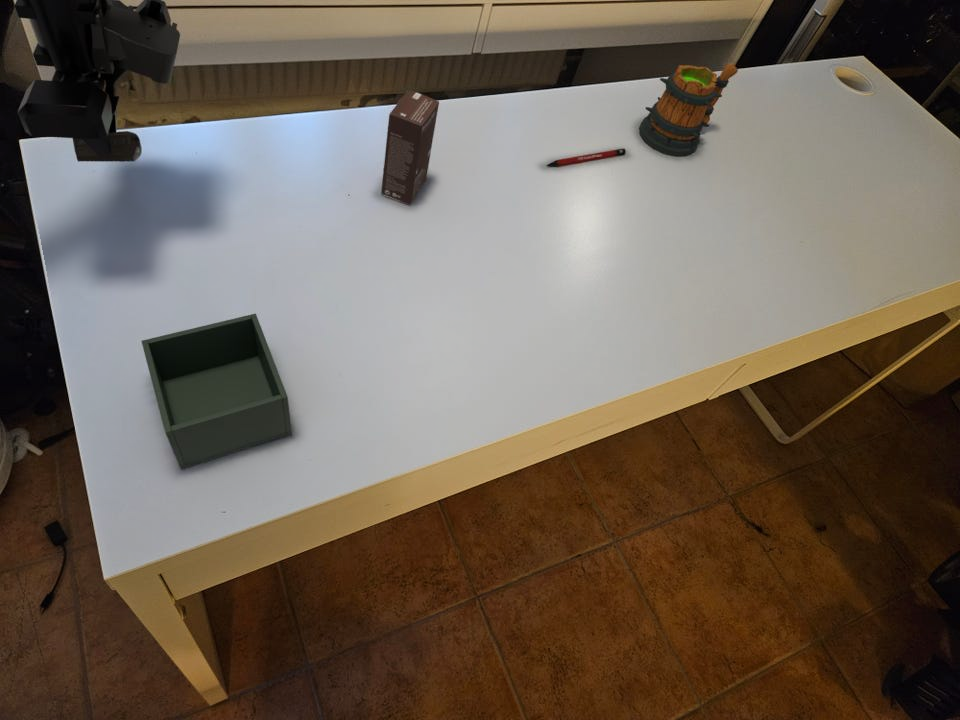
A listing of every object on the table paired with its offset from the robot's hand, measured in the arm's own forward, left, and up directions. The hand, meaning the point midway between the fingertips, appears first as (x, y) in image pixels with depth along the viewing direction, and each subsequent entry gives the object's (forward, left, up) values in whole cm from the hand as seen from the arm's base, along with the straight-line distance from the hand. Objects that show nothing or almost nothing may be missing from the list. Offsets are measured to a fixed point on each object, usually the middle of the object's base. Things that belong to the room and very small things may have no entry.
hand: (108, 143), depth 66 cm
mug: (+75, +23, -11) cm, 80 cm away
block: (0, 0, -1) cm, 1 cm away
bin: (+11, -25, -11) cm, 30 cm away
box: (+31, +8, -11) cm, 34 cm away
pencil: (+59, +16, -11) cm, 62 cm away
